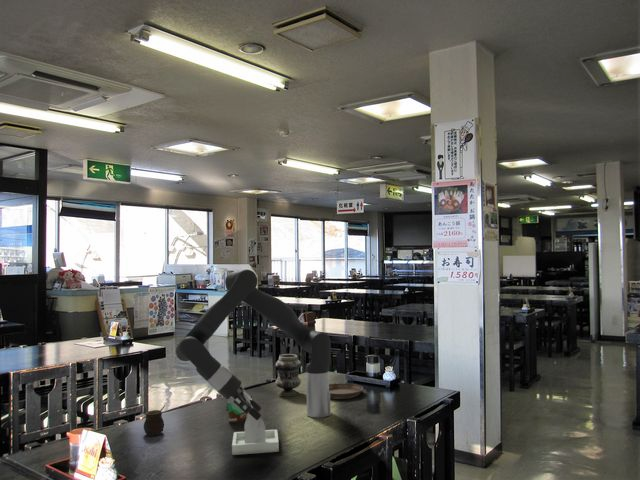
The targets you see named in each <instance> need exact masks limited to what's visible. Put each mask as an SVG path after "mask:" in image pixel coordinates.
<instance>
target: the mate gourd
mask: <svg viewBox="0 0 640 480" xmlns="http://www.w3.org/2000/svg"><path fill="white" fill-rule="evenodd" d="M165 407H166V405H164V406H163V407H162V408H161V409H160V410H159V409H151V410H149V411H146V412H145V421H144V422H143V430H144V433H145V434H146V435H147V436H150V437H153V436H158V435H161V433H162V432H163V431H164V428H165V422H164V419H163V416H162V413H163V409H164V408H165Z"/></svg>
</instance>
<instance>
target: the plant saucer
mask: <svg viewBox="0 0 640 480" xmlns="http://www.w3.org/2000/svg"><path fill="white" fill-rule="evenodd" d="M363 390H364V387H363V386H362V385H359V384H356V383H355V384H354V383H344V382H343V383H341V382H340V383H329V391H330V399H332V400H333V399H334V400H347V399H352V398H355V397H358V396H360V394H361V393H362V392H363Z"/></svg>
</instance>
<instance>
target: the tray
mask: <svg viewBox="0 0 640 480" xmlns="http://www.w3.org/2000/svg"><path fill="white" fill-rule="evenodd" d="M265 438H266V442H260V443H245V431H234V432H233V436H232V443H231V455H232V456H234V455H235V456H236V455H238V456H239V455H248V454H251V455H252V454H265V453H277V452H278V453H279V452H280V447H279V446H280V443H279V433H278V429H277V428H276V429H265Z"/></svg>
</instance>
